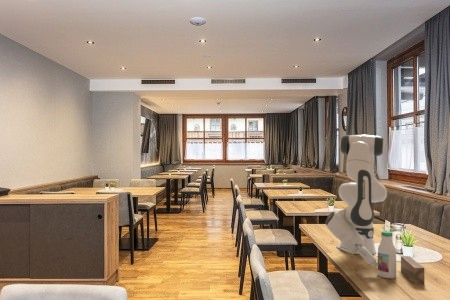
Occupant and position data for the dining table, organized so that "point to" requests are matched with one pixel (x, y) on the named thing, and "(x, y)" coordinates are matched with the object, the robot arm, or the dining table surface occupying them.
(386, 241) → the milk bottle
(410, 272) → the walnut block
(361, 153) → the robot arm
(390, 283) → the dining table surface
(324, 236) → the dining table surface
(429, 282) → the dining table surface
